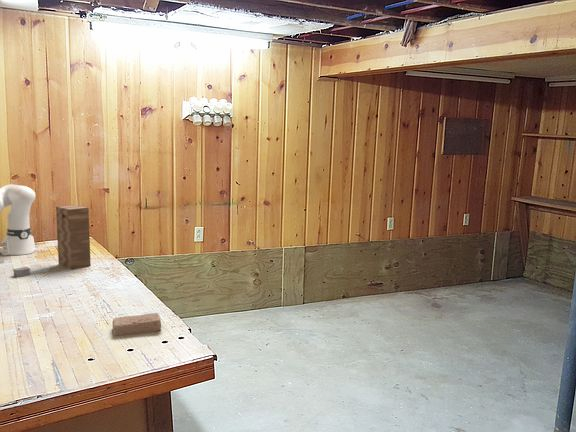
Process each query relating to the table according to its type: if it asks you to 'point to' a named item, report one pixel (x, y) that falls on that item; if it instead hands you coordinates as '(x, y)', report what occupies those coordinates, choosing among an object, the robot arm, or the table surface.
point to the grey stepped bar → (28, 271)
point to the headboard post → (73, 236)
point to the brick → (136, 324)
